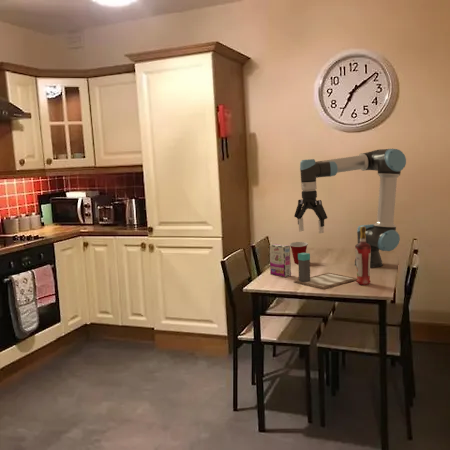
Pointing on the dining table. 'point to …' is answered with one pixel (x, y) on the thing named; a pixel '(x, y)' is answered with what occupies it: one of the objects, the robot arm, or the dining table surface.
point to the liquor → (363, 259)
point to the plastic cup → (298, 249)
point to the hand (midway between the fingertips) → (311, 232)
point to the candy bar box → (280, 260)
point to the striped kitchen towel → (327, 280)
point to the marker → (304, 267)
